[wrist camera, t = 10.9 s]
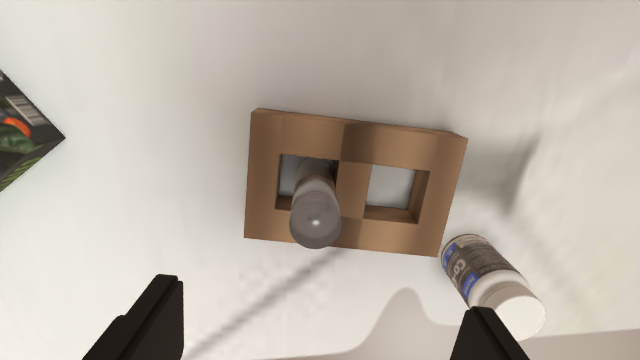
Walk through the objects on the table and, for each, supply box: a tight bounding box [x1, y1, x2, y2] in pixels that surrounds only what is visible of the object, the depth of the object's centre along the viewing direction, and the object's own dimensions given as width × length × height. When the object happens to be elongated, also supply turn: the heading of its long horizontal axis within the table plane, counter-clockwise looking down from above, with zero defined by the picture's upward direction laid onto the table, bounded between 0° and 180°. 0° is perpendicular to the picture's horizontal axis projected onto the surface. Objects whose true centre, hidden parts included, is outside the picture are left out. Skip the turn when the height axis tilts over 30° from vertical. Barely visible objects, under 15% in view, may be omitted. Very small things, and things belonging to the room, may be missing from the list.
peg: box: [289, 157, 342, 249], centre depth 23 cm, size 3×3×10 cm
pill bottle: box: [442, 235, 546, 341], centre depth 27 cm, size 5×5×8 cm
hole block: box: [244, 108, 468, 257], centre depth 27 cm, size 16×10×3 cm, turn 83°
